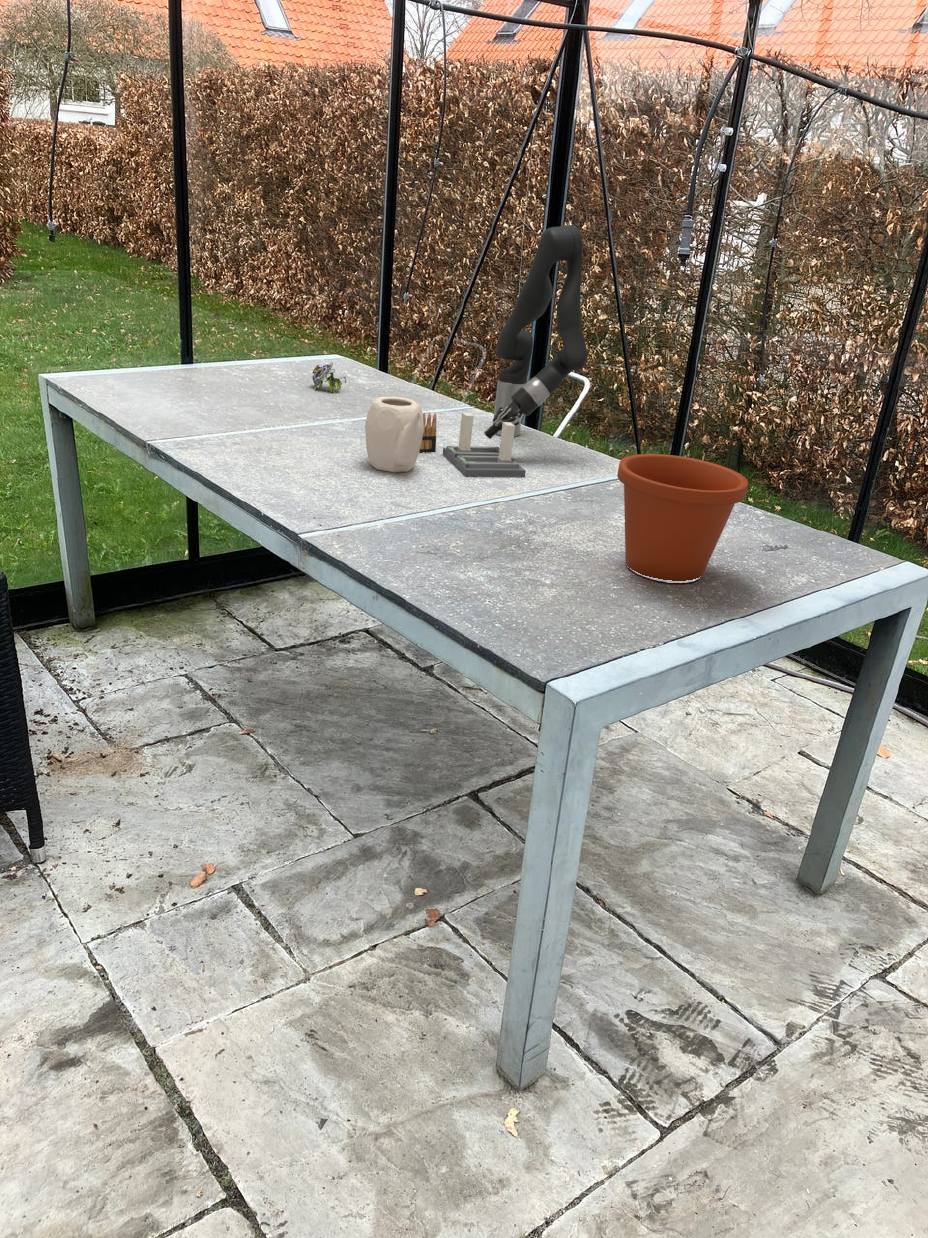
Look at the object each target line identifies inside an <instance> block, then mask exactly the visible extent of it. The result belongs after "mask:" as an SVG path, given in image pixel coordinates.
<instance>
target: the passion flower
mask: <svg viewBox="0 0 928 1238" xmlns="http://www.w3.org/2000/svg"><path fill="white" fill-rule="evenodd" d="M333 365H334V363H333V361H331V362H330V363H329V364H324V365H323V366H320V364H317V365H316V366H315V367H314V369H312V374H313V375H312V376H311V378H312V381H313V384H314V385H313V387H314V388H313V389H314V390H316V391H317V390H318V389H320V388H321V387H322V385H323V383H326V382H327V383H328V384H329V385H328V387H329V391H330V393H331V394H335V393H334V391H335V390H337V392H339V391H340V390H341V389H342V385H343V382H342V381H341V379H344V383H345V384H346V383H347V377H346V376H343V377H339V378H337V377H335V375H334V373H335V372H336V368H332V367H333Z"/></svg>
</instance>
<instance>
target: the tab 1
mask: <svg viewBox="0 0 928 1238" xmlns="http://www.w3.org/2000/svg"><path fill="white" fill-rule="evenodd" d="M474 417H475V416H474V414H472V413H471V412H461V419H460V427H459V429H460V430H459V437H458V438H459V439H458V445H456V446H457V452H471V449H470V446H471V444H472V435H473V428H474V427H473V426H474V419H475V418H474Z"/></svg>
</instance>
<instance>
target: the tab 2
mask: <svg viewBox="0 0 928 1238" xmlns="http://www.w3.org/2000/svg"><path fill="white" fill-rule="evenodd" d="M514 430H515V425H513V424H512V423H511V422H503V424H502V432H501V435H500V441H499V442H500V443H499V448H500V449H499V456H497V462H498V463H512V460H511V458H512V453H513V452H512V451H513V446H514V445H513V444H514V438H515V436H514Z"/></svg>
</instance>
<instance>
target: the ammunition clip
mask: <svg viewBox="0 0 928 1238" xmlns="http://www.w3.org/2000/svg"><path fill="white" fill-rule="evenodd" d="M422 414H423V422H424V433H423V437H422V442H421V446H420V451H419V454H427V453H426V452H435V453H436V451H437V413H436V412H434V413H433V416H432V415H431V414H432V413H431V412H429V413H428V414H427V419H426V413H425V412H422ZM423 452H425V453H423Z"/></svg>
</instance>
